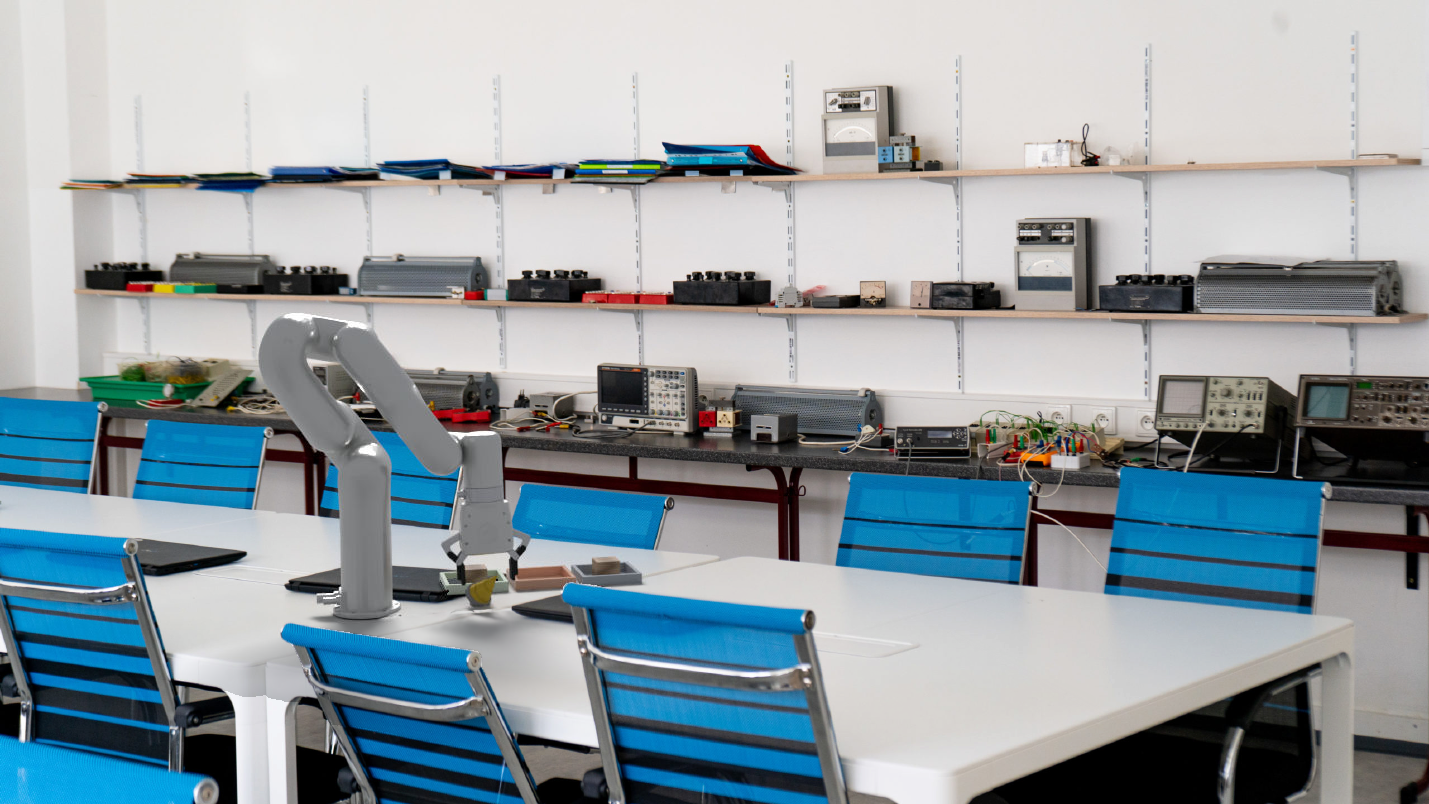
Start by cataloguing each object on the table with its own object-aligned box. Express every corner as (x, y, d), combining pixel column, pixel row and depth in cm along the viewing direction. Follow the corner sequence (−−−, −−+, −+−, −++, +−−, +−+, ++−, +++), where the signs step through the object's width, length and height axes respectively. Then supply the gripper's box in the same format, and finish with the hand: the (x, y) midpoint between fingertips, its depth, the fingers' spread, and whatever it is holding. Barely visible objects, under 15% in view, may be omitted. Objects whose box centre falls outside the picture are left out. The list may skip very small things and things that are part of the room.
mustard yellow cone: (483, 604, 263) (511, 574, 258) (477, 621, 258) (505, 591, 254) (461, 589, 261) (489, 559, 257) (454, 606, 257) (482, 576, 252)
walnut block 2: (597, 581, 279) (596, 562, 278) (592, 576, 283) (591, 557, 283) (620, 579, 280) (620, 561, 280) (614, 574, 285) (614, 556, 284)
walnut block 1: (462, 589, 270) (462, 570, 270) (460, 584, 275) (459, 565, 275) (487, 587, 272) (487, 568, 271) (484, 582, 277) (484, 563, 276)
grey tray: (582, 588, 274) (582, 577, 274) (571, 576, 286) (571, 564, 286) (641, 585, 278) (641, 573, 277) (627, 572, 290) (627, 561, 289)
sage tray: (446, 597, 266) (445, 585, 265) (439, 584, 278) (439, 572, 277) (508, 593, 269) (508, 581, 269) (499, 580, 281) (499, 569, 281)
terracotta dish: (515, 593, 270) (515, 581, 270) (506, 580, 282) (506, 568, 282) (576, 589, 273) (576, 577, 273) (564, 576, 285) (564, 565, 285)
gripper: (440, 501, 250) (445, 590, 252) (531, 494, 255) (535, 581, 257) (437, 495, 257) (441, 581, 259) (525, 489, 263) (528, 573, 264)
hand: (488, 581), depth 258 cm, fingers open, 9 cm apart
